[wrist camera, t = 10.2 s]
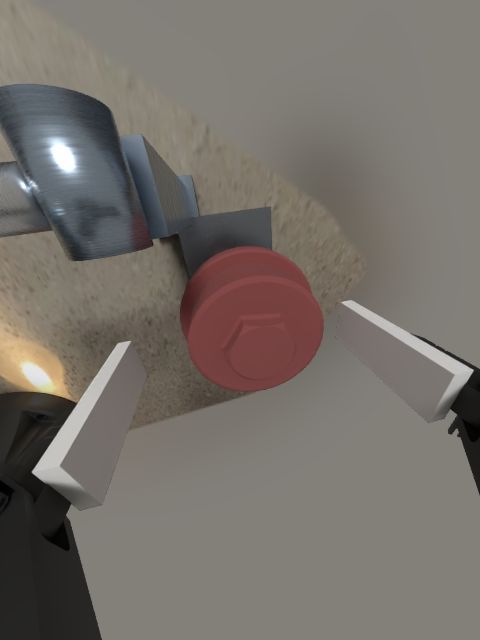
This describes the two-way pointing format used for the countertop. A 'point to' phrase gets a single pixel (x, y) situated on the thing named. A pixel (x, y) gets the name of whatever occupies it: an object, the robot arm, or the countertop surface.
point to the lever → (68, 173)
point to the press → (189, 209)
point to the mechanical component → (250, 319)
